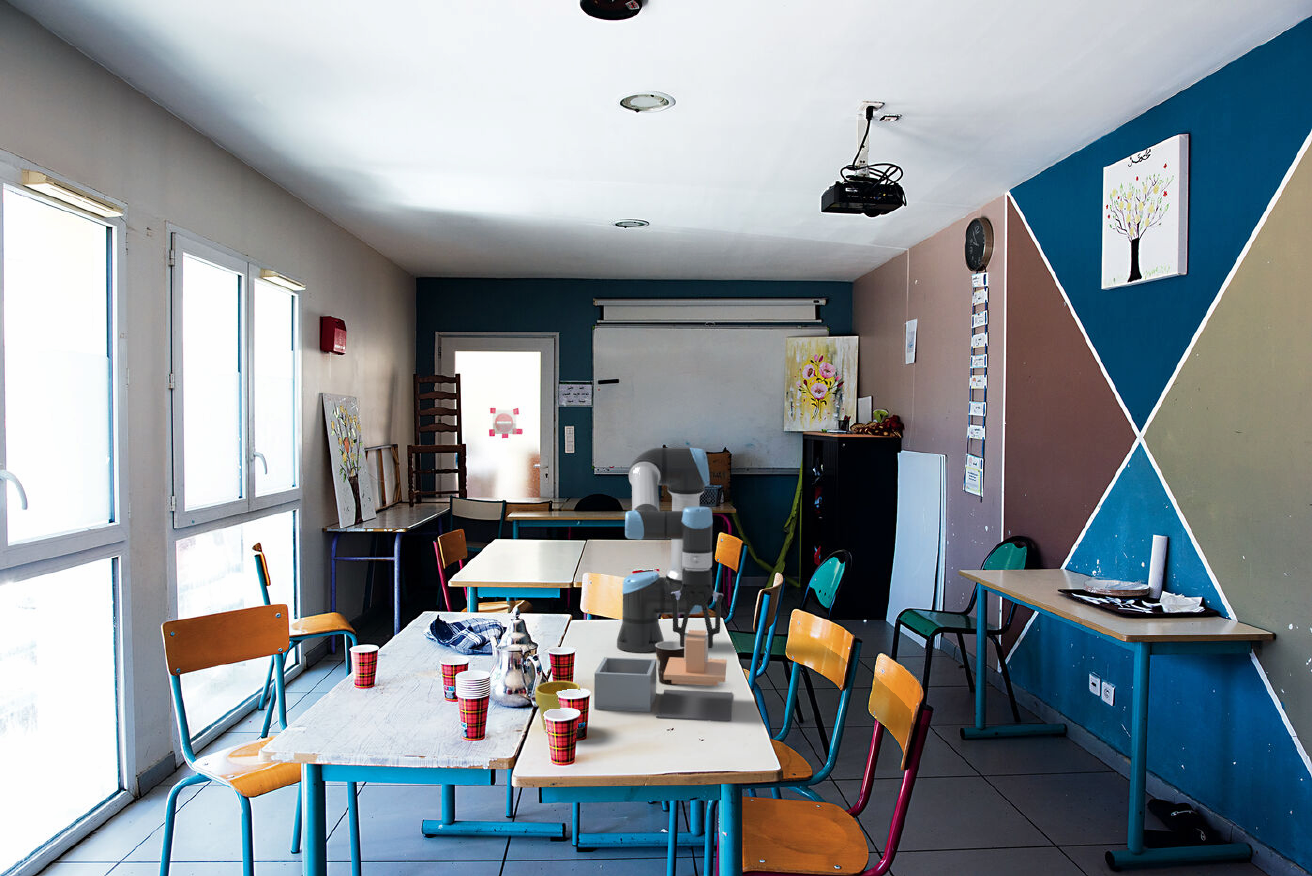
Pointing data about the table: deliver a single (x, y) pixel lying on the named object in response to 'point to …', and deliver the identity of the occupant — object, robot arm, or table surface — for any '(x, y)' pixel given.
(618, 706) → the storage box
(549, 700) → the plant pot
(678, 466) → the robot arm
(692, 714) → the mat
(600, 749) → the table surface
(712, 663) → the lid
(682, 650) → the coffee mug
